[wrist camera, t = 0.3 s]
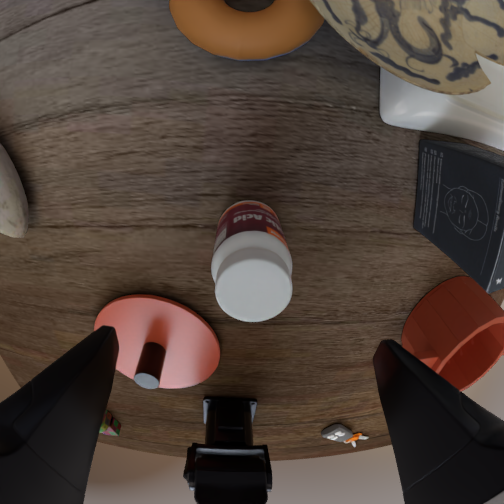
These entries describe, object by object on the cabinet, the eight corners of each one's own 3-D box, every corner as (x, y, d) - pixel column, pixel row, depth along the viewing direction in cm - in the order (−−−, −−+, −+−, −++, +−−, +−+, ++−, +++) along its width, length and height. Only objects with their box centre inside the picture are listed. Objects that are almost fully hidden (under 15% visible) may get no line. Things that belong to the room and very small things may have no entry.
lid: (218, 385, 31) (217, 422, 27) (111, 372, 30) (100, 405, 26) (223, 296, 25) (221, 337, 21) (86, 283, 24) (63, 317, 20)
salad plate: (537, -5, 7) (518, -3, 10) (373, -102, 6) (359, -86, 9) (548, 169, 17) (527, 160, 20) (398, 127, 16) (375, 123, 19)
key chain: (317, 431, 38) (319, 438, 37) (337, 421, 37) (340, 429, 36) (354, 445, 43) (355, 451, 42) (371, 437, 42) (373, 443, 41)
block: (86, 408, 34) (80, 425, 31) (107, 410, 34) (101, 428, 31) (104, 427, 37) (100, 443, 34) (124, 429, 37) (121, 446, 34)
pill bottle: (289, 209, 22) (315, 267, 14) (266, 262, 24) (279, 335, 16) (228, 190, 21) (223, 240, 14) (209, 246, 23) (198, 316, 16)
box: (456, 223, 23) (529, 281, 14) (410, 226, 23) (485, 296, 14) (465, 141, 19) (555, 177, 10) (417, 137, 19) (515, 171, 10)
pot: (464, 348, 32) (488, 384, 26) (367, 360, 31) (387, 411, 24) (502, 277, 27) (536, 311, 20) (406, 273, 25) (446, 322, 19)
